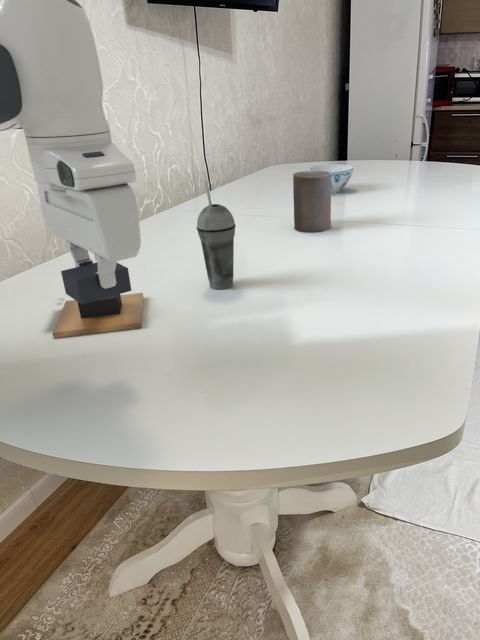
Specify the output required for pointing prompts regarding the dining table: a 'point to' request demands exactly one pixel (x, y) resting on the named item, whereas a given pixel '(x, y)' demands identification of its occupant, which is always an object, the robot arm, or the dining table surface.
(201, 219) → the beverage cup
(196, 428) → the dining table surface
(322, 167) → the chinaware
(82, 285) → the pad top
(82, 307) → the pad bottom
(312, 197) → the pillar candle
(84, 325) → the cork mat
